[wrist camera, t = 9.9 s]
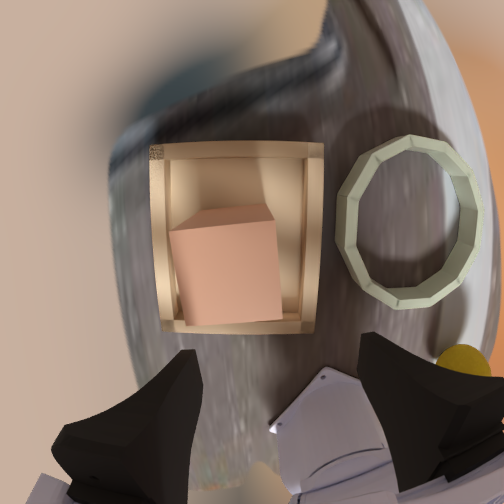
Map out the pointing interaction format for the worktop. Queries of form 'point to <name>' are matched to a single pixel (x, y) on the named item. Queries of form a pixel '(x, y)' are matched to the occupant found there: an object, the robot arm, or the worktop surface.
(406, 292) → the ceramic ring
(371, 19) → the worktop surface
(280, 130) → the worktop surface
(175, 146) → the birch tray
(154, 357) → the worktop surface
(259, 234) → the pink block
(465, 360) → the lemon
